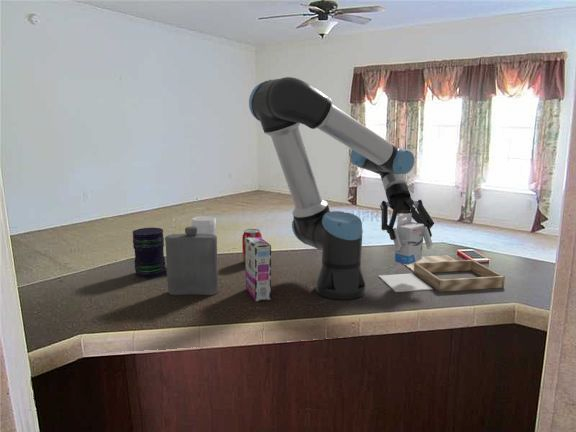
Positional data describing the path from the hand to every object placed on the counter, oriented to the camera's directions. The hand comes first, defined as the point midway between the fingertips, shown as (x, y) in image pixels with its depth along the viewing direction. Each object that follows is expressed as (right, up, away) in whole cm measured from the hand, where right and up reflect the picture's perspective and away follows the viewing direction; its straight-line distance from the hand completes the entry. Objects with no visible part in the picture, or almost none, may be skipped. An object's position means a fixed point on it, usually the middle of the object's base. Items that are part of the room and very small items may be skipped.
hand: (414, 247), depth 135 cm
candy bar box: (-48, -14, -4) cm, 50 cm away
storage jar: (-85, -10, +14) cm, 87 cm away
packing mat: (-2, -12, +5) cm, 13 cm away
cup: (-69, -7, +28) cm, 75 cm away
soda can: (-52, -8, +26) cm, 58 cm away
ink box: (-1, -5, +5) cm, 7 cm away
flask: (-67, -14, -2) cm, 69 cm away
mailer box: (+15, -9, +16) cm, 24 cm away
